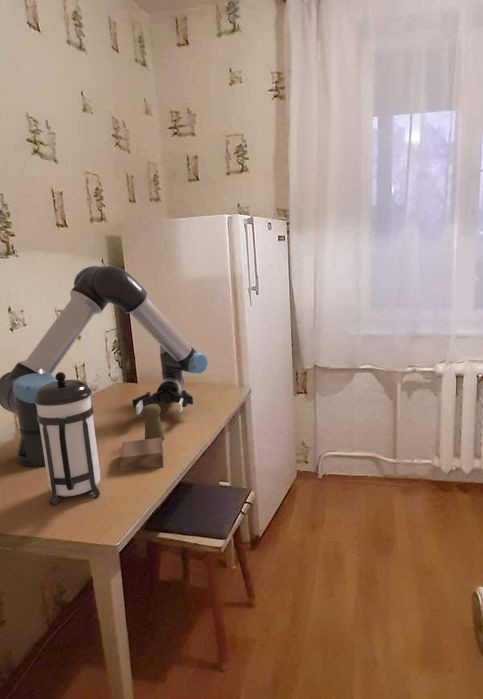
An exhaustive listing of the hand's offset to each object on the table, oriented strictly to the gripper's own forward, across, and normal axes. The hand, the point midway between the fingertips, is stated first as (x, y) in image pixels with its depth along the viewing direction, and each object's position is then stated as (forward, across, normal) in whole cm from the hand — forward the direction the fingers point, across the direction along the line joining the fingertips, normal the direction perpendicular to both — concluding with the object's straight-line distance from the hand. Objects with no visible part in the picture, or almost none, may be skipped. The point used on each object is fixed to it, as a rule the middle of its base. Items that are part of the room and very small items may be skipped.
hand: (158, 409), depth 161 cm
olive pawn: (+9, 0, -7) cm, 11 cm away
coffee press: (+42, +13, -7) cm, 44 cm away
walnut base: (+24, +1, -6) cm, 25 cm away
